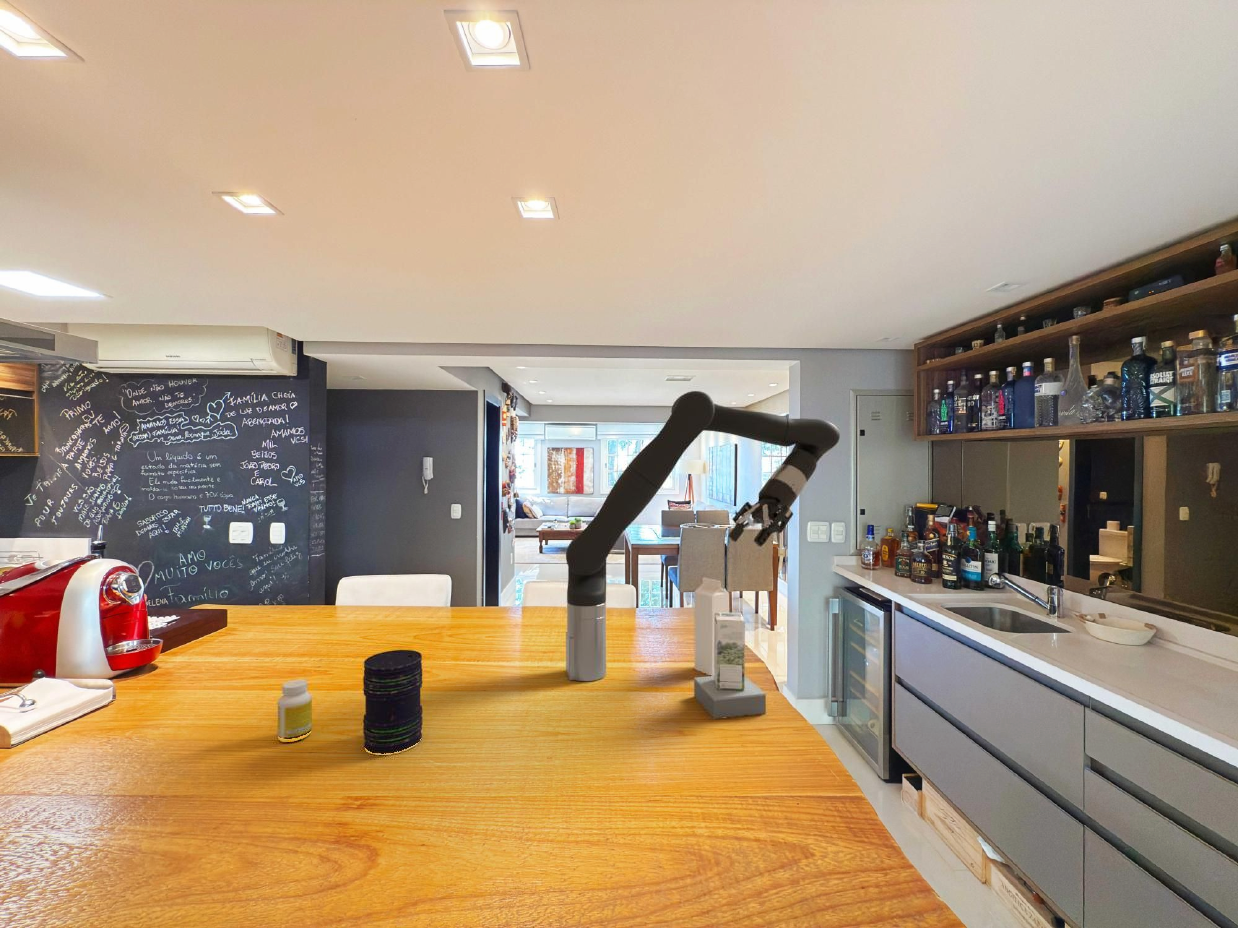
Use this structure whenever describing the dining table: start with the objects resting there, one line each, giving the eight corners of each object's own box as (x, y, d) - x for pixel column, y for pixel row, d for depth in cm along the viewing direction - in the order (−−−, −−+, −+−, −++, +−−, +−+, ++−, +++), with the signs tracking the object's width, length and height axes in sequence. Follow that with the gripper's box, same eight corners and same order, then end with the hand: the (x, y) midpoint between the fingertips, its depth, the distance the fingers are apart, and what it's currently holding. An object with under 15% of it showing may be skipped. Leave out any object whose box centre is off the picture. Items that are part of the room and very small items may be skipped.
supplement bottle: (318, 732, 103) (318, 679, 103) (292, 746, 98) (292, 690, 98) (296, 727, 105) (296, 676, 105) (270, 741, 100) (270, 686, 100)
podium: (713, 719, 108) (713, 698, 108) (694, 696, 119) (694, 677, 119) (765, 713, 110) (765, 693, 110) (741, 691, 121) (741, 673, 121)
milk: (712, 676, 130) (711, 582, 130) (694, 669, 135) (693, 578, 134) (730, 670, 133) (729, 579, 133) (711, 663, 138) (711, 575, 138)
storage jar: (364, 761, 93) (364, 672, 93) (361, 736, 101) (361, 654, 102) (426, 747, 97) (426, 662, 97) (418, 724, 106) (418, 646, 106)
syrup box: (741, 680, 117) (741, 611, 117) (745, 691, 111) (745, 619, 111) (714, 679, 118) (713, 611, 118) (716, 690, 112) (716, 618, 112)
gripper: (752, 476, 133) (714, 527, 128) (797, 477, 120) (756, 533, 115) (769, 498, 135) (732, 548, 130) (814, 501, 123) (776, 557, 117)
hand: (744, 541), depth 123 cm, fingers open, 8 cm apart
